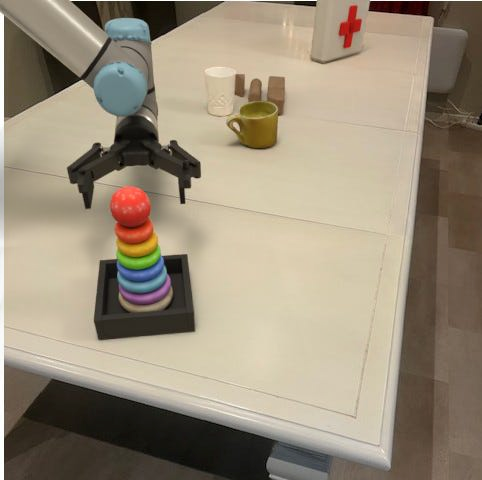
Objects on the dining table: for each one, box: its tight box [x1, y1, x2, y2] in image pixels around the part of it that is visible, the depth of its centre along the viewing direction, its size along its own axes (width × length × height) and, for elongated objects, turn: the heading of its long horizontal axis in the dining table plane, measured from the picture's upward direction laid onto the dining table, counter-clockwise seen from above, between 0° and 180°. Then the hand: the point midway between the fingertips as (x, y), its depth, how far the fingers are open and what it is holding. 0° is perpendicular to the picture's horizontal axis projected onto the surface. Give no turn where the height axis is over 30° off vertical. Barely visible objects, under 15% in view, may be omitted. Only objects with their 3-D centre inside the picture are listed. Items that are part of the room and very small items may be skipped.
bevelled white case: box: [310, 0, 371, 64], centre depth 160 cm, size 21×8×20 cm, turn 132°
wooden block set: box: [235, 73, 286, 115], centre depth 132 cm, size 17×6×18 cm
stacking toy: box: [109, 185, 173, 313], centre depth 66 cm, size 8×8×19 cm
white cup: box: [204, 66, 237, 117], centre depth 125 cm, size 8×8×10 cm
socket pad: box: [93, 253, 196, 341], centre depth 72 cm, size 14×14×4 cm
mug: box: [225, 100, 279, 149], centre depth 113 cm, size 12×10×10 cm
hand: (134, 198), depth 69 cm, fingers open, 13 cm apart
